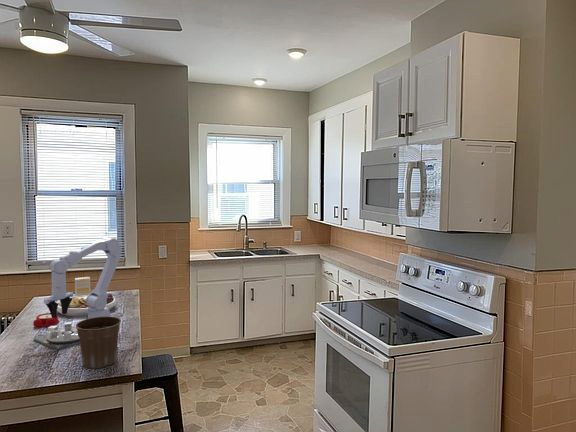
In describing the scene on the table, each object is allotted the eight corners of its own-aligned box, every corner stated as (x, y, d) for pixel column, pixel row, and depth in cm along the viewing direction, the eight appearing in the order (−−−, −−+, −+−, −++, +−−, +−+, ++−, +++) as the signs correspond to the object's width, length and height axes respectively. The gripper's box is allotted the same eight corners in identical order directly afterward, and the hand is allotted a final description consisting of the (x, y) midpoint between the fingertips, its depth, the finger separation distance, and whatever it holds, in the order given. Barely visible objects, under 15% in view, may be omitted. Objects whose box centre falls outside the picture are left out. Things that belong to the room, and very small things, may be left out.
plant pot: (71, 373, 162) (70, 330, 160) (81, 356, 177) (80, 317, 176) (118, 369, 165) (117, 327, 164) (123, 353, 181) (123, 315, 180)
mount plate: (77, 328, 211) (76, 326, 210) (101, 337, 199) (101, 334, 199) (33, 340, 194) (33, 337, 194) (57, 350, 183) (57, 347, 183)
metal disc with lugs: (75, 327, 208) (75, 319, 208) (96, 335, 199) (96, 326, 199) (38, 337, 194) (38, 328, 194) (59, 346, 185) (59, 336, 185)
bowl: (62, 321, 222) (62, 306, 221) (50, 308, 245) (50, 294, 245) (122, 312, 241) (122, 297, 240) (106, 300, 264) (105, 287, 264)
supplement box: (89, 297, 269) (89, 276, 268) (90, 299, 264) (90, 278, 264) (74, 299, 264) (74, 277, 264) (75, 301, 260) (75, 279, 259)
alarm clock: (61, 312, 225) (54, 313, 211) (61, 324, 224) (54, 327, 210) (38, 313, 222) (30, 315, 208) (38, 326, 221) (29, 328, 207)
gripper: (64, 282, 207) (65, 310, 208) (38, 288, 194) (38, 318, 194) (76, 283, 205) (77, 312, 206) (50, 290, 191) (51, 320, 192)
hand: (59, 315), depth 200 cm, fingers open, 5 cm apart
